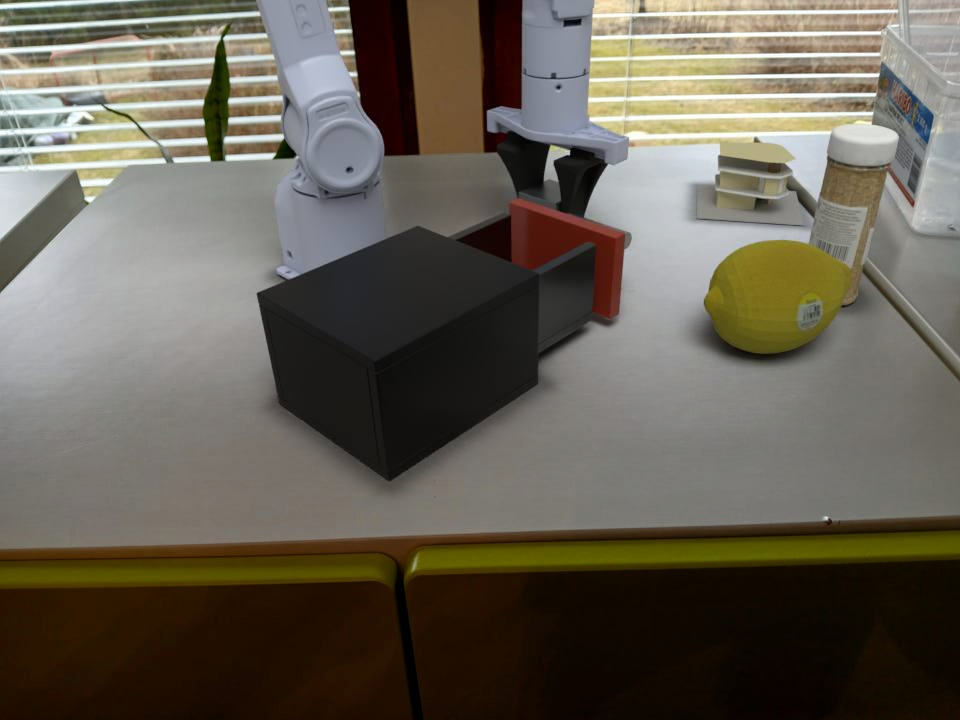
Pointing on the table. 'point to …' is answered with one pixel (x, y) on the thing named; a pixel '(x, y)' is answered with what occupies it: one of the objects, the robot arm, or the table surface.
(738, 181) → the stacked layers on plate
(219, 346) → the table surface
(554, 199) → the steel block
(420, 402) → the black drawer cabinet
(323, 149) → the robot arm
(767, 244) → the lemon
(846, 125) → the seasoning bottle
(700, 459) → the table surface
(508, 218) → the red-fronted pull-out drawer
